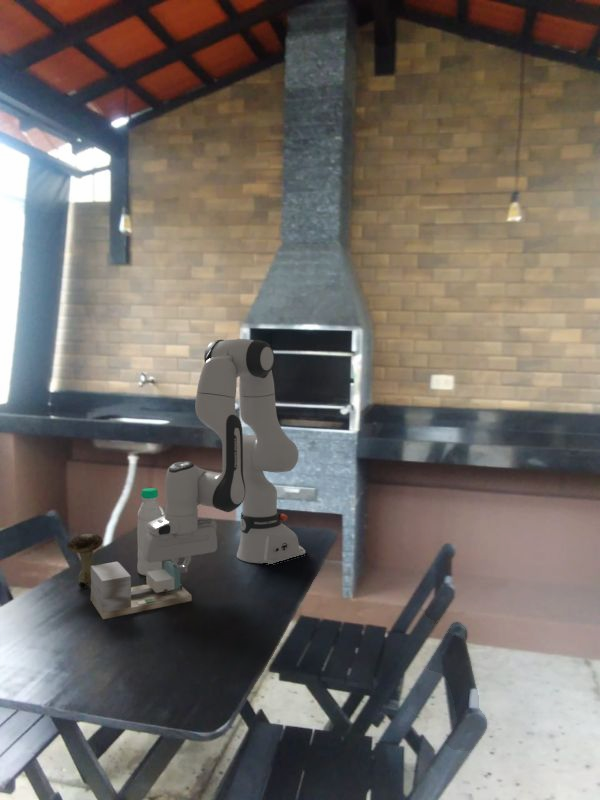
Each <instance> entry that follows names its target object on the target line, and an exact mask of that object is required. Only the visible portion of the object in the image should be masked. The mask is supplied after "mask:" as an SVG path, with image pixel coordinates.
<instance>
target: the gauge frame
mask: <svg viewBox="0 0 600 800" xmlns="http://www.w3.org/2000/svg"><path fill="white" fill-rule="evenodd" d="M168 591H169V592H170V594H166V593H165V591H163V592H158V593H156V592H155V591H154V590H153V589H152V588H151V587H150V586H149V585H148V584H147V583H146V584H142V585H137V586H132V576H131V575H130V573H129V572H128V571H127V570H126V568H125V567H123V565H122V564H121V563H120V562H119V561H112V562H107V563H101V564H100V563H99V564H94V565H93V566H91V584H90V602H91V601H92V602H91V603H92V604H93V606H94V607H95V609H96V611H97V612H98V614H99V615H100V617H101V618H102V620H106V619H113V618H116V617H121V616H126V615H132V614H135V613H140V612H145V611H149V610H154V609H159V608H160V609H161V608H163V607H164V608H165V607H169V606H174V605H178V604H183V603H188V602H192V600H193V599H192V596H193V595H192V594H191V592H189V591H188V590H187V589H186V588H184V587H183V584H182V583H181V582H180V588H178V589H173V590H168Z"/></svg>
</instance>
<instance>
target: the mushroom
mask: <svg viewBox="0 0 600 800" xmlns="http://www.w3.org/2000/svg"><path fill="white" fill-rule="evenodd" d="M103 541H104V540H103V538H102V536H101V535H99V534H97V533H84V534H79V535H76V536H74V537H73V538H72V539H70V540H69V541H68V542H67V544H66V549H67V551H69V552H70V553H71V552H72V553H77V554H79V556H80V562H81V570H80V572H79V574H78V578H77V582H78V583H77V585H78V587H79V589H89V588H90V587H91V566H93V565H95V563H94V562H95V561H94V551H95V550H97V549H98V548H100V547H101V546H102V544H103Z"/></svg>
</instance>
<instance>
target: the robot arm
mask: <svg viewBox="0 0 600 800" xmlns="http://www.w3.org/2000/svg"><path fill="white" fill-rule="evenodd" d="M203 358H204V363H203V366H202V369H201V373H200V376H199V380H198V384H197V390H196V397H195V405H194V406H195V408H194V409H195V413H196V416H197V418H198V419H199V421H200V422H201V423H202V424H203V425H205V427H207V428H209V429H211V430H212V431H213V432H214V433H215V434H216V435H217V436H218V437H219V439H220V441H221V445H222V472H215V471H212V470H206V469H204V468H200V467H199V466H197V465H196V464H195V462H194V461H193V462H192V461H187V460H186V461H178V462H175V463H173V464H171V465H170V466H169V467H168V468H167V470H166V475H165V481H164V482H165V483H164V499H165V509H164V515H162V517H160V518H158V519H155V520H153V521H151V522H149V523H148V524H147V529H148V531H149V532H148V533H147V534H146V536H145V539H144V546H143V557H144V559H145V560H146V561H148V562H149V563H152V562H158V561H162V562H163V561H164V562H165V561H171V562H172V563H173V564H174V565H175V566H176V567H177V568H179V569H180V574H183V573H188V566H189V564H190V563H191V561H192V556H193V557H194V556H198V555H205V554H211V553H215V552H217V551H216V550H217V549H218V537H217V533H216V532H217V530H218V529H217V527H218V524H217V521H216V520H214V519H212V518H207V519H199V508H198V505H199V506H200V505H201V506H205V507H210V508H213V509H217V510H219V511H223V512H226V513H231V512H233V511H234V510H236V509H237V508H239V507H240V506H241V505H242V507H241V510H242V511H241V513H240V533H241V534H240V540H239V544H238V549H237V553H236V558H237V559H239V560H240V561H243V562H246V563H250V564H251V563H253V564H263V563H268V564H267V565H269V564H273V563H276V562H279V561H283V560H286V559H289V558H292V557H296V556H299V555H303V554H305V553H306V550H305V549H304V548H303V547H302V546H301V545H300V543H299V539H298V538H299V537H298V535H297V534H296V533H295V531H293V530H291V529H290V528H289V527H288V526H286V525H285V524H284V523H282V521H283V522H286V521H287V520H288V515H287V514H285V513H280V512H278V511H277V509H278V508H277V507H278V491H277V488H276V487H275V485H274V484H273V483H272V482H271V481H269V480H268V479H267V478H266V476H265V474H264V472H269V473H287V472H291V471H292V470H294V469H295V467H296V466H297V464H298V461H299V457H300V456H299V450H298V447H297V445H296V443H295V442H293V441H292V440H291V439H290V438H289V436H287V435H286V433H285V432H284V430H283V429H282V426H281V425H280V422H279V419H278V414H277V405H276V392H275V381H274V376H273V372H272V370H273V366H274V363H275V353H274V349H273V348H272V347H271V345H270V344H269V343H268V342H267V341H264V340H261V339H260V340H259V339H255V340H254V339H246V338H236V339H218V340H217V339H216V340H214V341H212V342H210V343H209V344H208V345H207V348H206V349H205V351H204V357H203ZM238 377H239V382H238V381H237V380H238V379H237V378H238ZM237 382H238V383H237ZM237 385H239V387H238V386H237ZM237 388H238V391H239V392H238V393H239V396H238V397H239V406H240V407H239V409H240V410H239V411H240V413H239V414H240V418H241V419H240V418H239V417H238V415H237V410H236V397H237ZM241 420H242V421H241ZM242 422H243V423H244V424H245V425H247V426H248V427H249V428H251V430H252V431H253V433H254V434H243V425H242ZM180 558H184V560H183V563H182V564H179V561H180V560H179V559H180ZM273 565H274V564H273Z"/></svg>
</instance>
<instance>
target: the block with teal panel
mask: <svg viewBox="0 0 600 800" xmlns="http://www.w3.org/2000/svg"><path fill="white" fill-rule="evenodd" d="M145 580H146V581H145V582H146V584H148V585H149V586H150V587H151V588H152V589H153V590H154V591H155V592H156V593H158V592H163V591H165V593H166V594H170V592H169V591H168V590H173V589H178V588H180V583H181V573H180V569H179V568H177V567H176V566H175V565H174V564H173V562H172V561H171V560H164V562H163V568H162V569H160V570H154V571H149V572H146V577H145Z"/></svg>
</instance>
